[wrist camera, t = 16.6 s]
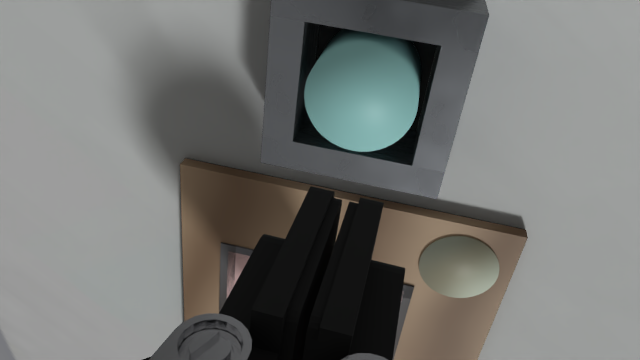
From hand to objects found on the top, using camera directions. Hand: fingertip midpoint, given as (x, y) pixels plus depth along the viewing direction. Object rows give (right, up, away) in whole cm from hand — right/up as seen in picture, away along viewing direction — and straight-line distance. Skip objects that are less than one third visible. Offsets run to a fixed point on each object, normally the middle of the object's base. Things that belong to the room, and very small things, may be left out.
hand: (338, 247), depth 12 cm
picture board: (0, -6, +17) cm, 18 cm away
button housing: (+2, +6, +9) cm, 11 cm away
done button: (+2, +6, +10) cm, 12 cm away
